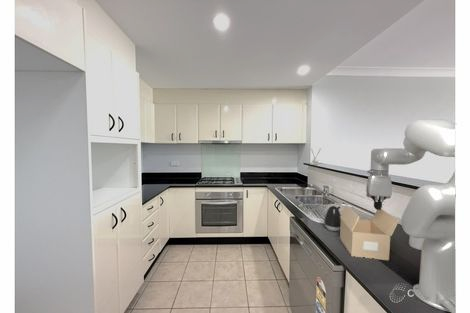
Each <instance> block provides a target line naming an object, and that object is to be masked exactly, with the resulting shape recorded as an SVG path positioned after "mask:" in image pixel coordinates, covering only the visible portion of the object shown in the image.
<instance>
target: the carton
mask: <svg viewBox="0 0 470 313" xmlns="http://www.w3.org/2000/svg"><path fill="white" fill-rule="evenodd" d="M339 232H340V233H339V239H340V240H341V242H342V244H343V245H344V247H345V249H346V250H347V252H348V253H349V255H350V254H351V255H350V256H351V257H354V256H355V257H356V258H363V257H365V259H372V258H374V260H382V261H389V260H390V247H391V235H389V234H388V233H387V232H386V231H384V230H383V229H382V228H381V227H380V226H378V225H377V224H376V223H375V222H373V221H372V220H369V219H359V220H358V222H357V224H356V226H355V228H354V230H353V232H352V231H351V230H350V229H349V228H348V227H347V225H346V224H345V223H344V222H343V221H342V219H341V226H340V230H339Z"/></svg>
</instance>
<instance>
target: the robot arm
mask: <svg viewBox="0 0 470 313" xmlns="http://www.w3.org/2000/svg"><path fill="white" fill-rule="evenodd" d="M455 124H456V123H455V122H453V121H452V120H447V119H426V118H425V119H424V118H423V119H416V120H414V121H412V122H410V123H409V124H408V125H407V126H406V128H405V130H404V136H405V138H404V139H403V142H402V143H403V147H404V148H401V147H400V148H397V147H395V148H394V147H391V148H389V147H387V148H385V147H384V148H373V149H371V152H370V169H369V170H367V174H369V175H368V177H367V181H366V186H365V187H366V188H365V189H366V190H365V191H366V194H365V196H366V197H367V198H369V199H372V201H373V207H374V209H375V210H376V211H377V210H381V209H382V208H383V203H384V201H385V200H387V199H391V197H392V195H393V186H392V180H391V176H389V172H390V170H389V166H390V165H400V166H401V165H403V166H405V165H406V166H407V165H409V164H412V163H416V162H418V161H420V160H421V159H423V158H424V156H425V155H426V152H428V153H431V154H433V155H435V156H439V157H444V158H456V157H455ZM400 222H401V226H402V227H401V228H402V229H403V231H404V233H406V234H407V235H408V236H409V237H410V236H412V237H415V238H423V239H425V240H424V242H423V244H422V250H421V255H420V266H419V281H418V283H417V284H414V285H413V287H412V289H413V290H412V291H413V294H414V295H415V296H416V297H417V298H418V299H419V300H421V301H422V302H424V303H425V304H427V305H429V306H431V307H434V308H435V309H438V310H440V311H445V312H448V313H455V171H454V172H453V174H452V176H451V177H450V179H449V180H448V181H447V182H446V183H444V184H425V185H422V186H420V187H418V188H417V189H416V190H415V191H414V193H412V196H411V197H410V199H409V201H408V203H407V205H406V207H405V210H404V211H403V213H402V215H401V221H400Z"/></svg>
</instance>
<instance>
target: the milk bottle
mask: <svg viewBox="0 0 470 313" xmlns="http://www.w3.org/2000/svg"><path fill="white" fill-rule="evenodd" d="M424 240H425V239H423V238H415V237H412V236H410V235H409V239H408V244H409V246H410V247H411V248H412V249H416V250H419V251H422V244H423V242H424Z"/></svg>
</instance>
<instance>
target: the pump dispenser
mask: <svg viewBox="0 0 470 313" xmlns="http://www.w3.org/2000/svg"><path fill="white" fill-rule="evenodd" d="M340 209H341V206H335V205H331V206H330V207H329V208H328V209H327V211H326V213H325V217H324V222H323V223H324V226H325V228H326V229H327V230H328V231H330V232H339V231H340V226H341V218H340V216H341V211H340Z"/></svg>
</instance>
